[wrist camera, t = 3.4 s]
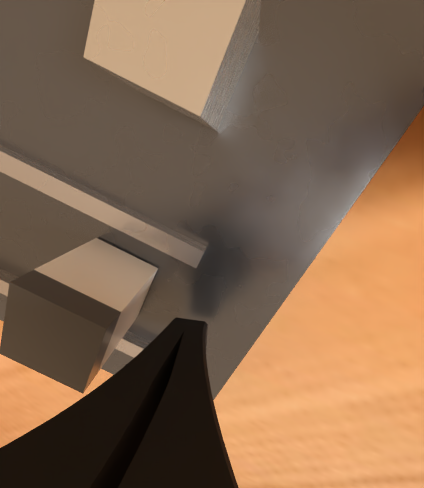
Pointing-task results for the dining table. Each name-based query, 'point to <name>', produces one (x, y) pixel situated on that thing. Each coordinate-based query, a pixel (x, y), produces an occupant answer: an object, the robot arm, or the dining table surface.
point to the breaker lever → (74, 311)
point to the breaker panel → (198, 144)
